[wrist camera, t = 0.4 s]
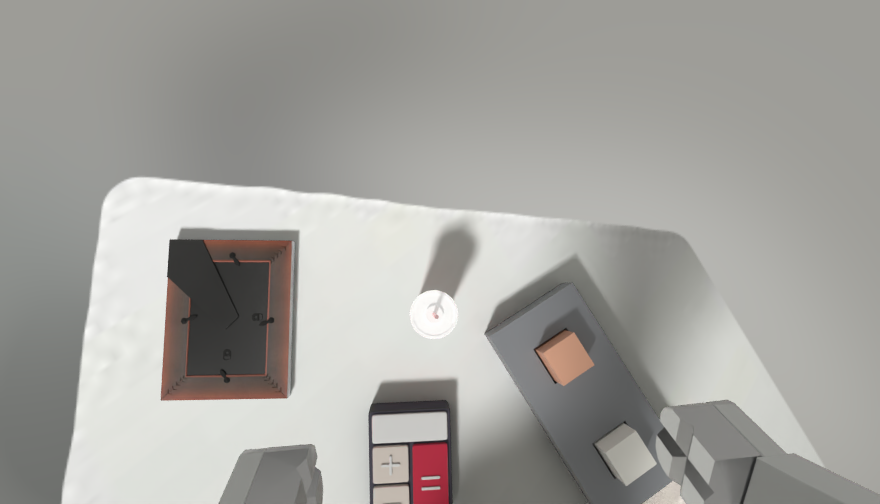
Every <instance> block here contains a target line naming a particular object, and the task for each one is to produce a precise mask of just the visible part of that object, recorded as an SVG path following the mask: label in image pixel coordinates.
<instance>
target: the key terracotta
mask: <svg viewBox="0 0 880 504" xmlns="http://www.w3.org/2000/svg"><path fill="white" fill-rule="evenodd" d="M534 350H535V351H536V353H537V354H538V356H539V358H540V359H541V361H542V362H543V364H544V366H545V367H546V369H547V370H548V372H549V374H550V375H551V377H552V378H553V380H555V381H556V382H558V383H559V384H561V385H563V386H565V385H566V384H568V383H569V382H570V381H572V380H573V379H575V378H576V377H578V376H579V375H581V374H582V373H584V372H585V371H587V370H588V369H589V368H591V367H592V366H594V363H593V362H592V360H591V358H590V357H589V355H588V354H587V352H586V350H585V349H584V347H583V346H582V344H581V343H580V341H579V339H578V338H577V336H576V335H575V333H574V332H570V331H566V330H562V331H561V332H559V333H558V334H556V335H555V336H553V337H552V338H550V339H549V340H547V341H546V342H544V343H543V344H541V345H539V346H538V347H536V348H535V349H534Z"/></svg>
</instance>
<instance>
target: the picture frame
mask: <svg viewBox="0 0 880 504" xmlns="http://www.w3.org/2000/svg"><path fill="white" fill-rule="evenodd" d="M294 257H295V242H294V241H266V240H170V243H169V258H168V273H167V277H168V286H167V303H166V320H165V337H164V354H163V371H162V388H161V400H217V399H274V398H288V397H289V396H290V392H291V358H292V325H293V291H294Z"/></svg>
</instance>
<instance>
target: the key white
mask: <svg viewBox="0 0 880 504" xmlns="http://www.w3.org/2000/svg"><path fill="white" fill-rule="evenodd" d="M593 444H594V446H595V447H596V449H597V450H598V452H599V454H600V455H601V457H602V458H603V460H604V462H605V463H606V465H607V466H608V468H609V470H610V471H611V473H612V474H613V475H614V476H615V477H617V478H618V479H619V480H620V481H621V482H622V483H623V484H624V485H626V486H628V485H629V484H630V483H632V482H633V481H634V480H636V479H637V478H639V477H640V476H641V475H643V474H644V473H645V472H647V471H648V470H650V469H651V468H652V467H654V466H655V465H656V464H657V463H656V461H655V460H654V458H653V457H652V455H651V454H650V452H649V450H648V449H647V447H646V446H645V444H644V442H643V441H642V439H641V438H640V436H639V435H638V433H637V431H636V430H634V429H632V428H631V427H629V426H628V425H626V424H624V423H623V422H622V423H621V424H620V425H618V426H617V427H615V428H614V429H612V430H611V431H610V432H608V433H607V434H605V435H604V436H603V437H601V438H600V439H598V440H597V441H596V442H594V443H593Z"/></svg>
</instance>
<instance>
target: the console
mask: <svg viewBox="0 0 880 504" xmlns="http://www.w3.org/2000/svg"><path fill="white" fill-rule="evenodd" d="M562 330H566V331H570V332H574V333H575V335H576V336H577V338H578V339H579V341H580V343H581V344H582V346H583V347H584V349H585V350H586V352H587V354H588V355H589V357H590V358H591V360H592V362H593V363H594V366H592V367H591V368H589V369H588V370H587V371H585V372H584V373H582V374H581V375H579V376H578V377H576V378H575V379H573V380H572V381H570V382H569V383H568V384H566V385H565V386H563V385H561V384H559V383H558V382H556V381H555V380H553V378H552V377H551V375H550V374H549V372H548V370H547V369H546V367H545V366H544V364H543V362H542V361H541V359H540V358H539V356H538V354H537V353H536V351H535V350H534V349H535V348H536V347H538V346H539V345H541V344H543V343H544V342H546V341H547V340H549V339H550V338H552V337H553V336H555V335H556V334H558V333H559V332H561V331H562ZM485 335H486V337H487V339H488V340H489V342H490V343H491V345H492V347H493V348H494V350H495V351H496V353H497V355H498V356H499V358H500V360H501V361H502V363H503V364H504V366H505V368H506V369H507V371H508V372H509V374H510V376H511V377H512V379H513V380H514V382H515V384H516V385H517V387H518V389H519V390H520V392H521V393H522V395H523V397H524V398H525V400H526V401H527V403H528V405H529V406H530V408H531V409H532V411H533V413H534V414H535V416H536V418H537V419H538V421H539V422H540V424H541V426H542V427H543V429H544V430H545V432H546V434H547V435H548V437H549V438H550V440H551V442H552V443H553V445H554V447H555V448H556V450H557V451H558V453H559V455H560V456H561V458H562V459H563V461H564V463H565V464H566V466H567V467H568V469H569V471H570V472H571V474H572V476H573V477H574V479H575V480H576V482H577V484H578V485H579V487H580V488H581V490H582V492H583V493H584V495H585V496H586V498H587V500H588V501H589V503H590V504H642V503H643V502H645V501H646V500H647V499H649V498H650V497H651V496H653V495H654V494H656V493H657V492H658V491H660V490H661V489H662V488H664V487H665V486H666V485H668V484H669V483H670V482H672V481H673V480H671V479H670V478H668V476H667V475H666V473H665V472H664V470H663V469H662V467H661V464H660V462H659V460H658V457H657V451H656V446H655V445H656V437H657V434H658V433H659V432H660V431H661V430H662V429H663V428H664V426H663V424H662V423H661V422H660V420H659V418H658V416H657V415H656V413H655V412H654V410H653V409H652V407H651V405H650V404H649V402H648V401H647V399H646V398H645V396H644V394H643V393H642V391H641V390H640V388H639V387H638V385H637V383H636V382H635V380H634V379H633V377H632V375H631V374H630V372H629V371H628V369H627V368H626V366H625V364H624V363H623V361H622V360H621V358H620V357H619V355H618V353H617V352H616V350H615V349H614V347H613V346H612V344H611V342H610V341H609V339H608V338H607V336H606V334H605V333H604V331H603V330H602V328H601V327H600V325H599V323H598V322H597V320H596V319H595V317H594V316H593V314H592V312H591V311H590V309H589V308H588V306H587V304H586V303H585V301H584V300H583V298H582V297H581V295H580V293H579V292H578V290H577V289H576V287H575V286H574V284H573V283H562V284H560V285H559V286H557V287H556V288H554V289H553V290H551V291H550V292H548V293H547V294H545V295H544V296H542V297H540V298H539V299H537V300H536V301H534V302H533V303H531V304H530V305H528V306H527V307H525V308H524V309H522V310H520V311H519V312H517V313H516V314H514V315H513V316H511V317H510V318H508V319H507V320H505V321H503V322H502V323H500V324H499V325H497V326H496V327H494V328H493V329H491V330H490V331H488V332H487V333H485ZM622 422H623V423H624V424H626V425H628V426H629V427H631V428H632V429H634V430H636V431H637V433H638V435H639V436H640V438H641V439H642V441H643V442H644V444H645V446H646V447H647V449H648V450H649V452H650V454H651V455H652V457H653V458H654V460H655V461H656V463H657V464H656V465H655V466H654V467H652V468H651V469H650V470H648V471H647V472H645V473H644V474H643V475H641V476H640V477H639V478H637V479H636V480H634V481H633V482H632V483H630V484H629V485H628V486H626V485H624V484H623V483H622V482H621V481H620V480H619V479H618V478H617V477H615V476H614V475H613V474H612V473H611V471H610V470H609V468H608V466H607V465H606V463H605V462H604V460H603V458H602V457H601V455H600V454H599V452H598V450H597V449H596V447H595V446H594V444H593V443H594V442H596V441H597V440H598V439H600V438H601V437H603V436H604V435H605V434H607V433H608V432H610V431H611V430H612V429H614V428H615V427H617V426H618V425H620V424H621V423H622Z"/></svg>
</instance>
